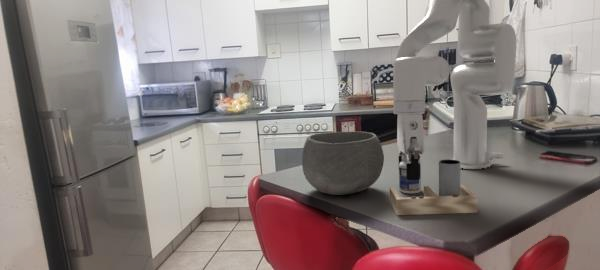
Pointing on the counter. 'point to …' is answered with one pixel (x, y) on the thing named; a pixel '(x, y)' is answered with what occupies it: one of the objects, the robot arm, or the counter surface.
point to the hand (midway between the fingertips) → (408, 174)
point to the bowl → (342, 161)
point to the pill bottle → (405, 184)
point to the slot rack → (434, 203)
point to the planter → (449, 177)
